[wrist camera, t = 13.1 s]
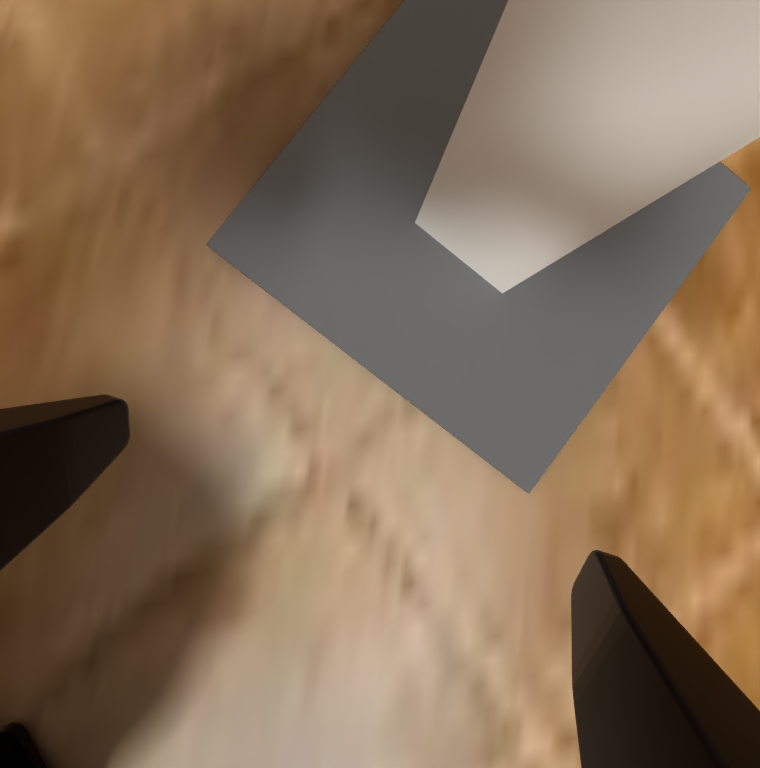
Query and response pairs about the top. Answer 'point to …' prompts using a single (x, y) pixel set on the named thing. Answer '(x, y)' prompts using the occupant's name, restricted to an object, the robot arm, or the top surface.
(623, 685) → the robot arm
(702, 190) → the charcoal rubber mat
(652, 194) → the off-white post
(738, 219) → the top surface
